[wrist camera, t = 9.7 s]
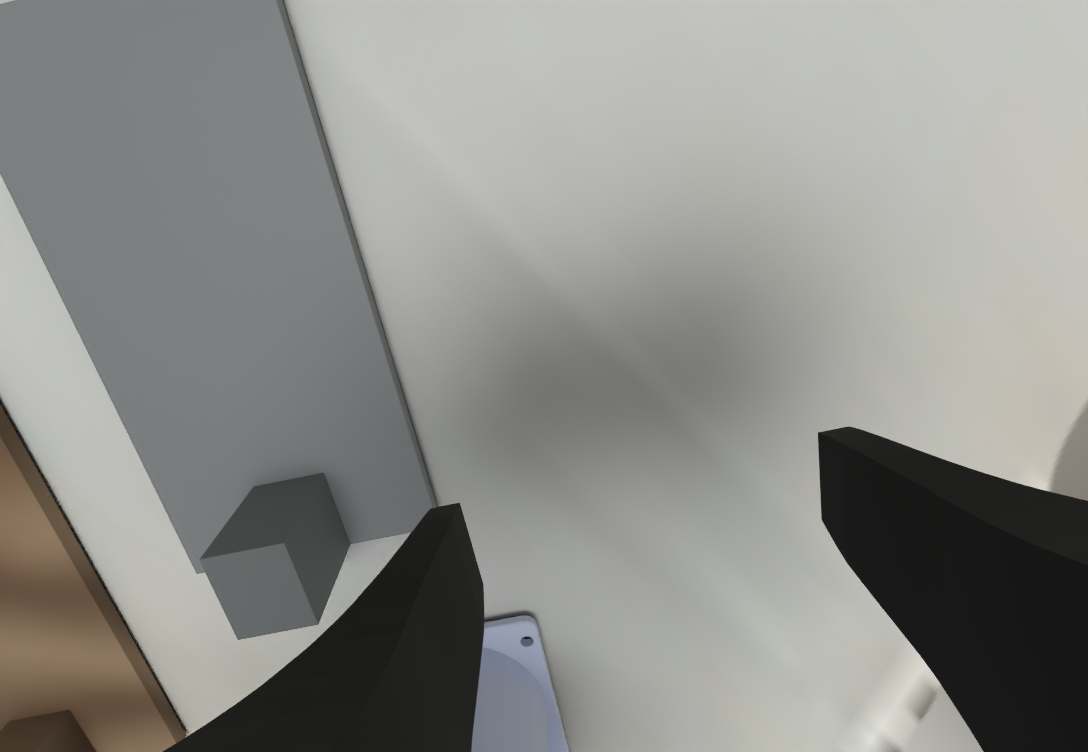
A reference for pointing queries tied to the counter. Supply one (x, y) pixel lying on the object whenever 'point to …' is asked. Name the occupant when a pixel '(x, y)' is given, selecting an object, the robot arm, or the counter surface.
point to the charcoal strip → (213, 284)
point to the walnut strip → (64, 635)
